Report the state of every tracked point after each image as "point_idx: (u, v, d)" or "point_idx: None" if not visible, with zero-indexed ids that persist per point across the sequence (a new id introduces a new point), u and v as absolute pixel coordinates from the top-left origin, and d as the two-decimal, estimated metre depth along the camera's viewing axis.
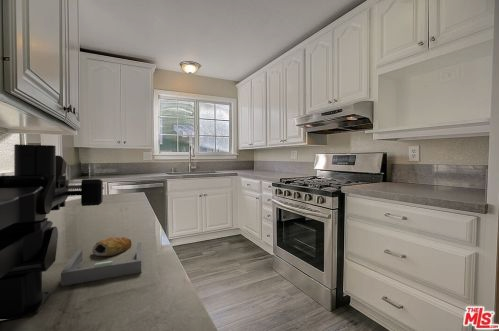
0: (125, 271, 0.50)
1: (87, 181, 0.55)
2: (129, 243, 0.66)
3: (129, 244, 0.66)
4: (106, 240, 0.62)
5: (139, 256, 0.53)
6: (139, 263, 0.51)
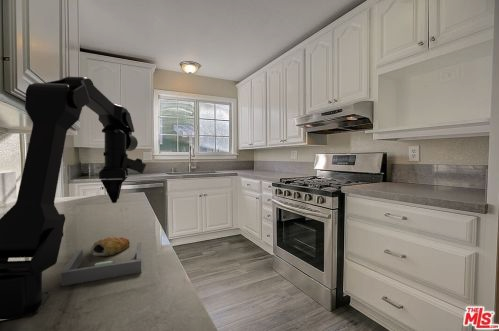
0: (125, 271, 0.50)
1: (124, 169, 0.67)
2: (127, 243, 0.66)
3: (127, 244, 0.66)
4: (104, 240, 0.62)
5: (139, 256, 0.53)
6: (139, 263, 0.51)
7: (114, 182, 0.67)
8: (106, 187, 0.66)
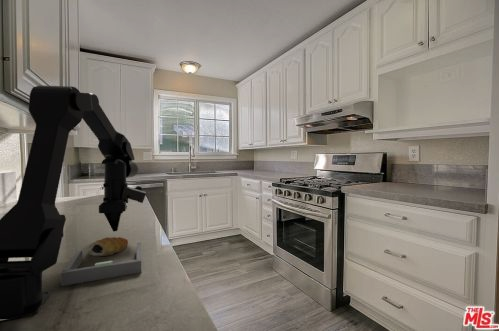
0: (125, 271, 0.50)
1: (123, 201, 0.66)
2: (126, 243, 0.66)
3: (126, 244, 0.66)
4: (103, 240, 0.62)
5: (139, 256, 0.53)
6: (139, 263, 0.51)
7: (115, 212, 0.70)
8: (107, 217, 0.69)
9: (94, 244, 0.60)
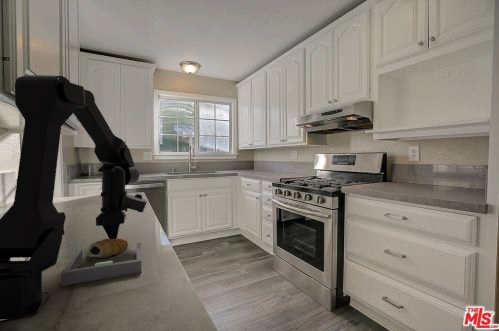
0: (125, 271, 0.50)
1: (122, 212, 0.62)
2: (125, 244, 0.64)
3: (125, 246, 0.64)
4: (101, 241, 0.61)
5: (139, 256, 0.53)
6: (139, 263, 0.51)
7: None
8: (105, 228, 0.64)
9: (92, 245, 0.59)
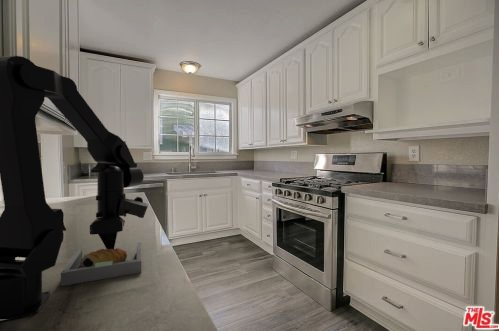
0: (125, 271, 0.50)
1: (120, 218, 0.55)
2: (123, 256, 0.57)
3: (123, 257, 0.57)
4: (96, 252, 0.54)
5: (139, 256, 0.53)
6: (139, 263, 0.51)
7: None
8: (101, 236, 0.57)
9: (85, 257, 0.52)
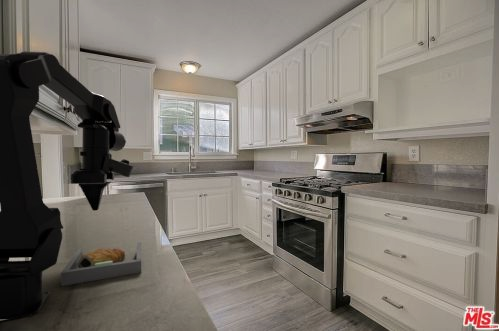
0: (125, 271, 0.50)
1: (103, 172, 0.55)
2: (121, 256, 0.57)
3: (121, 257, 0.57)
4: (93, 253, 0.53)
5: (139, 256, 0.53)
6: (139, 263, 0.51)
7: (95, 186, 0.58)
8: (85, 192, 0.57)
9: (83, 257, 0.52)
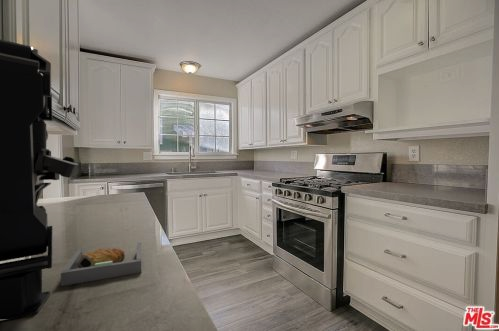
0: (125, 271, 0.50)
1: None
2: (121, 256, 0.57)
3: (121, 257, 0.57)
4: (93, 252, 0.53)
5: (139, 256, 0.53)
6: (139, 263, 0.51)
7: None
8: None
9: (82, 257, 0.52)
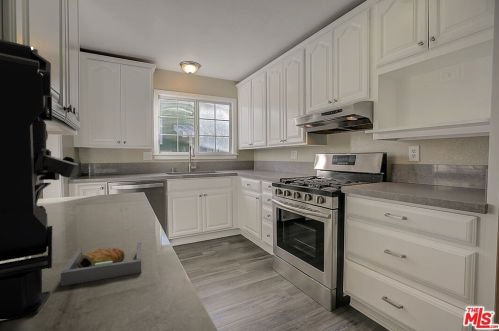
0: (125, 271, 0.50)
1: None
2: (121, 255, 0.57)
3: (121, 257, 0.57)
4: (93, 252, 0.53)
5: (139, 256, 0.53)
6: (139, 263, 0.51)
7: None
8: None
9: (82, 257, 0.52)
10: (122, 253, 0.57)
